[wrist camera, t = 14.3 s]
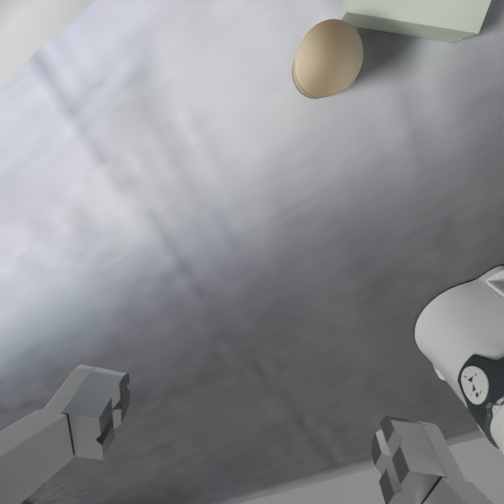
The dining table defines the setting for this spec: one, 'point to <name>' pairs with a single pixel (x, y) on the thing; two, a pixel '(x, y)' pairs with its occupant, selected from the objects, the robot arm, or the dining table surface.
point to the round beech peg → (327, 59)
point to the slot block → (418, 17)
